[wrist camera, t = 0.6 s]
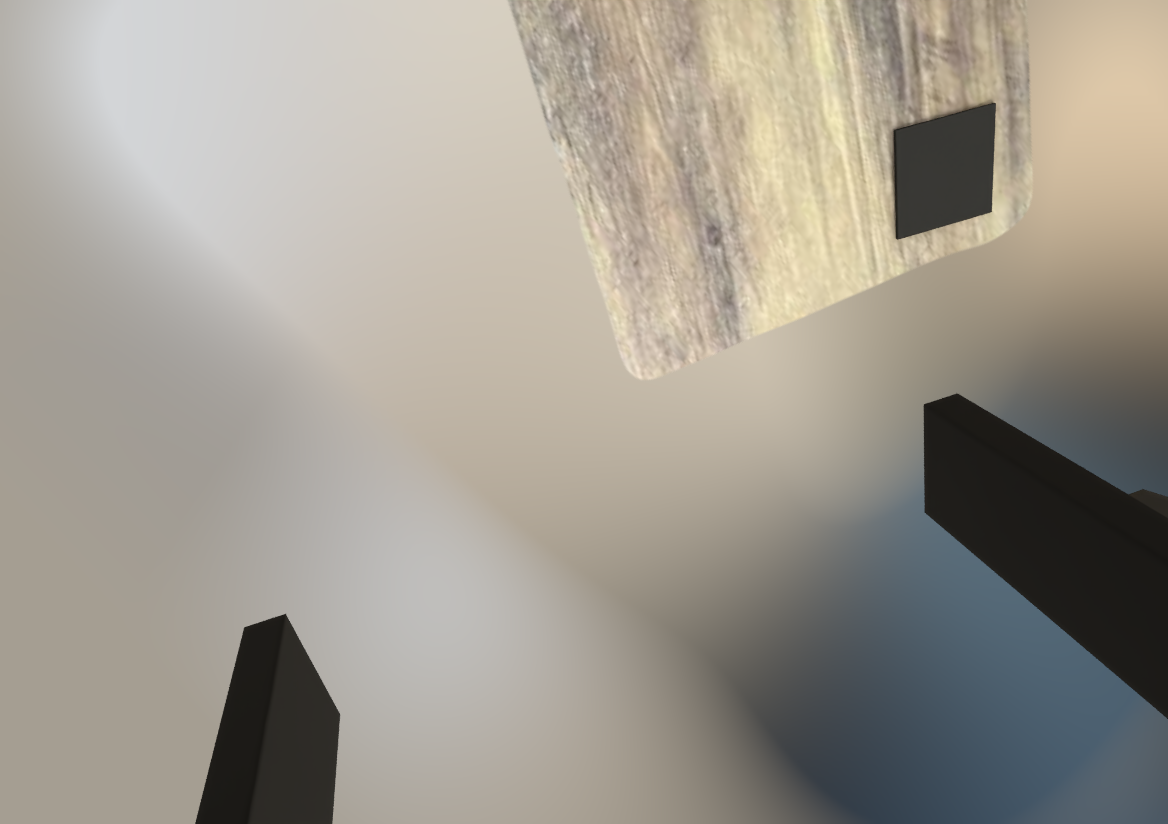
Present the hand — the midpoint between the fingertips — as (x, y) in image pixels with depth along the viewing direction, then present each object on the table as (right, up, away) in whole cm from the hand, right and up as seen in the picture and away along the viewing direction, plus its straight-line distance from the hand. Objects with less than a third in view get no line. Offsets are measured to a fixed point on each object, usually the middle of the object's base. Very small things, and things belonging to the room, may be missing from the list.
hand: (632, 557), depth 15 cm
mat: (+32, +25, +55) cm, 69 cm away
